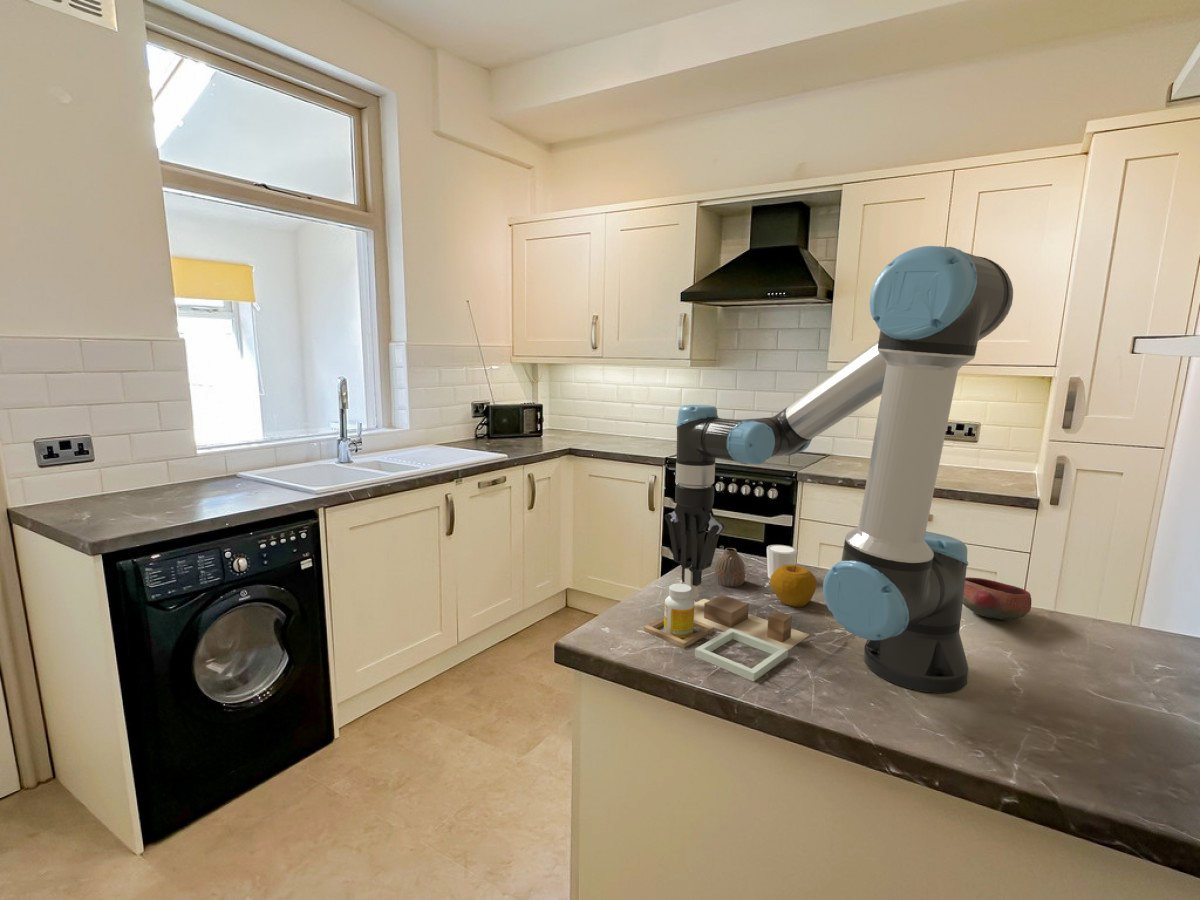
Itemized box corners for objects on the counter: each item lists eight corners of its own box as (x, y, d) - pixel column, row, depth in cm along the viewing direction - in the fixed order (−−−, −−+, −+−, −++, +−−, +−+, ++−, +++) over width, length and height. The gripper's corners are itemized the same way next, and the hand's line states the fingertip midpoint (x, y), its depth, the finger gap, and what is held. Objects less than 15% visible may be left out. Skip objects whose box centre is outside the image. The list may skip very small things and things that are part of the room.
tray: (787, 663, 99) (788, 649, 98) (753, 688, 91) (754, 673, 90) (730, 641, 106) (730, 628, 106) (694, 662, 98) (695, 648, 98)
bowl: (945, 600, 126) (948, 564, 125) (1013, 607, 123) (1018, 571, 121) (971, 633, 110) (975, 593, 109) (1050, 642, 107) (1055, 601, 106)
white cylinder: (775, 570, 143) (777, 542, 142) (801, 578, 138) (803, 549, 137) (759, 576, 139) (760, 547, 138) (784, 585, 134) (786, 555, 133)
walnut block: (748, 618, 113) (748, 603, 113) (731, 628, 109) (731, 612, 108) (721, 609, 117) (721, 594, 117) (703, 618, 113) (704, 603, 113)
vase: (726, 579, 137) (728, 542, 136) (751, 588, 132) (753, 550, 130) (707, 586, 133) (708, 548, 131) (731, 595, 127) (733, 556, 126)
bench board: (809, 641, 107) (811, 613, 106) (783, 660, 100) (784, 631, 99) (703, 603, 123) (704, 580, 122) (674, 618, 116) (675, 592, 115)
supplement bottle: (657, 636, 108) (658, 586, 106) (677, 628, 111) (679, 579, 110) (679, 647, 104) (680, 595, 102) (699, 638, 107) (701, 588, 106)
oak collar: (713, 637, 108) (713, 627, 107) (683, 654, 101) (683, 643, 101) (673, 622, 114) (674, 612, 114) (643, 637, 107) (643, 626, 107)
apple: (760, 605, 122) (763, 564, 121) (783, 594, 128) (785, 555, 127) (800, 620, 115) (803, 576, 114) (823, 607, 121) (825, 565, 120)
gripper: (734, 486, 113) (728, 603, 117) (679, 477, 122) (676, 585, 126) (712, 492, 108) (707, 614, 111) (656, 481, 117) (653, 595, 120)
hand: (690, 599), depth 119 cm, fingers closed
